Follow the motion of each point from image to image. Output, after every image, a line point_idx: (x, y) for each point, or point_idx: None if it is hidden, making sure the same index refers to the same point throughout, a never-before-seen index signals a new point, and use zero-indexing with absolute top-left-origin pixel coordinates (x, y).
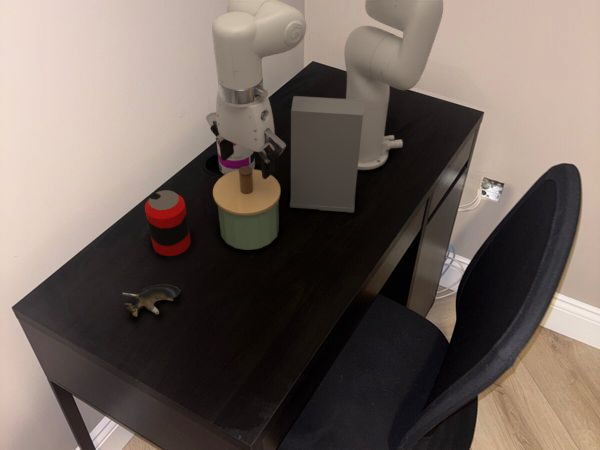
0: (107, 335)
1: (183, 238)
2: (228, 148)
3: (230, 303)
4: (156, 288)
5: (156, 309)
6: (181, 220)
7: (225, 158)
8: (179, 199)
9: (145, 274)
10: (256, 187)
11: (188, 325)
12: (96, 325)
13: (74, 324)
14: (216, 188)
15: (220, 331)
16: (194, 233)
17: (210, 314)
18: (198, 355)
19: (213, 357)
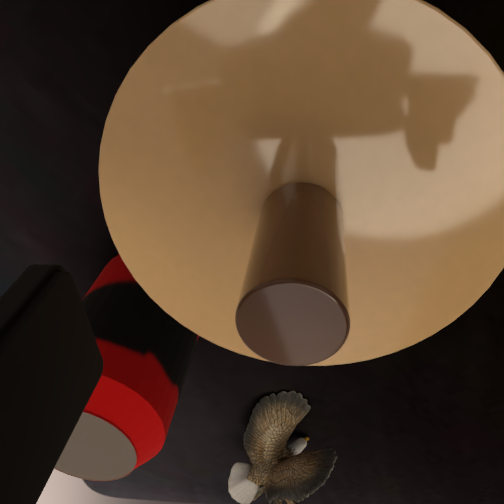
0: (259, 486)
1: (196, 334)
2: (38, 399)
3: (436, 359)
4: (288, 483)
5: (301, 450)
6: (174, 391)
7: (93, 371)
8: (113, 418)
9: (192, 380)
10: (337, 167)
11: (380, 430)
12: (225, 480)
13: (193, 489)
14: (160, 289)
15: (458, 417)
16: None
17: (408, 397)
18: (446, 464)
19: (479, 458)
